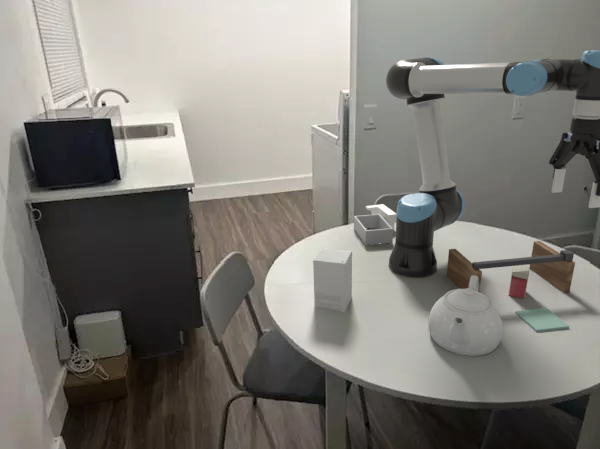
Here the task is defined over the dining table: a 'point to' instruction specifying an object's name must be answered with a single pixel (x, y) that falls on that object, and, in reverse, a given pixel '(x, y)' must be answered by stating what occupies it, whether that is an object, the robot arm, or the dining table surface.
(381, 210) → the bracket
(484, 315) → the teapot
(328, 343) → the dining table surface
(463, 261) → the rack
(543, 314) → the pad
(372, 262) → the dining table surface
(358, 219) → the box
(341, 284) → the supplement box
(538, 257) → the tie bar
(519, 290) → the small box
